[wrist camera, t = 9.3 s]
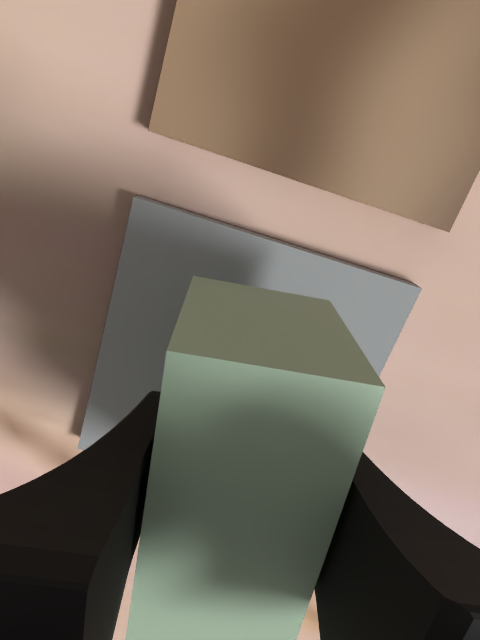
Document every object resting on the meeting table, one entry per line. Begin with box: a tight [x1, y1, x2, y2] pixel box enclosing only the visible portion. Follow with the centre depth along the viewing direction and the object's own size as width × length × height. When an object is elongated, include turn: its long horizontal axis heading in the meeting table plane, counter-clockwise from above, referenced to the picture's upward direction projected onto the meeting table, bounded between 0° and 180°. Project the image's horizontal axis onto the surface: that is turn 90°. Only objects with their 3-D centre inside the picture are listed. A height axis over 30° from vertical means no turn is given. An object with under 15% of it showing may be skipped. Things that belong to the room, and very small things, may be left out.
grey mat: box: [78, 195, 422, 450], centre depth 16 cm, size 10×10×1 cm
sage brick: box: [126, 276, 385, 640], centre depth 11 cm, size 4×8×5 cm, turn 169°
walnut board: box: [148, 0, 480, 232], centre depth 12 cm, size 10×10×1 cm
